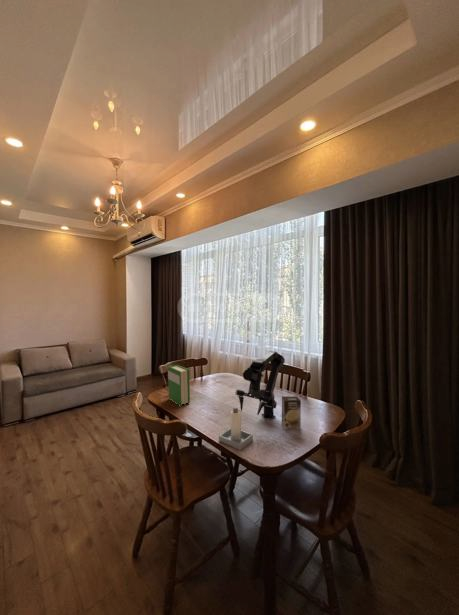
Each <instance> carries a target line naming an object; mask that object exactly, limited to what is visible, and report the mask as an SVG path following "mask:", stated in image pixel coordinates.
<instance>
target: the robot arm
mask: <svg viewBox="0 0 459 615" xmlns="http://www.w3.org/2000/svg"><path fill="white" fill-rule="evenodd" d="M285 361H286V360H285V357H284V356H283V355H281V354H280V353H278V351H275V350H270V351H268V352H267V353H266V354H265V355H264V356H262V357H261V358H257V359H254V360H253V361H252V362H251V364H250V365H249V367H247V369H245V370H244V371H243V373H242V378H243V380H245V381H248V382H249V386H248V392H245V391H244V390H241V389H236V390H235V393H234V395H235V396H237V398H238V400H239V406H240V411H241V412H242V411H243V408H244V406H243V405H244V398H245V397H248V398H250V399H251V398H252V399H256V400H258V401H259V405H258V407H257V416H259V415H260V413H261V411H262V410H263V413H261V416H262V417H263V418H265V420H270V419H275V418H277V416H276V415H275V414H274V409H277V404H278V403H277V401H276V400H275V394H274V390H275V386H276V384H277V383H276V382H277V379H278V375H279V372H280V370H281V369H282V368H283V366H284V364H285V363H286V362H285ZM269 364H270V367H271V368H270V372H269V375H268V380H267V383H266V386H265V389H262V388H261V382H262V378H263V377H264V374H263V373H264V372H265V371H266V370H267V365H269Z"/></svg>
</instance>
